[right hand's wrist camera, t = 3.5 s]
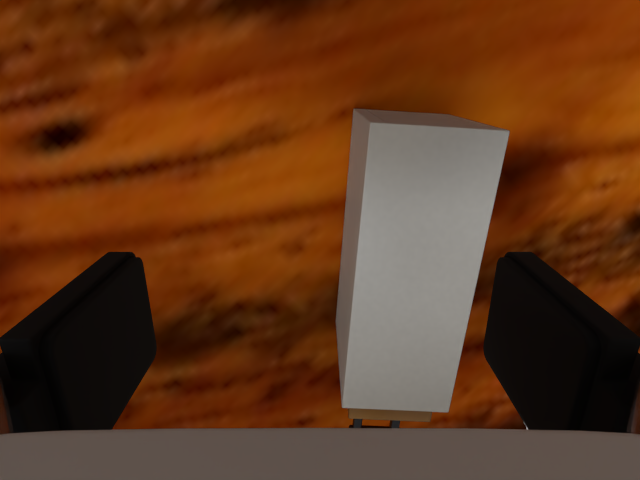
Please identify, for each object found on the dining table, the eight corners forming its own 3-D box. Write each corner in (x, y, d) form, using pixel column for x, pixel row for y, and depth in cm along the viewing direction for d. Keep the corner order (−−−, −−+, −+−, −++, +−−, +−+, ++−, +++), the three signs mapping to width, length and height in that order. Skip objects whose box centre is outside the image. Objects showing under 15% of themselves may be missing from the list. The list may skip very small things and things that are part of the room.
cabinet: (414, 325, 34) (448, 412, 25) (335, 321, 33) (341, 408, 25) (449, 114, 28) (510, 130, 19) (353, 108, 28) (370, 122, 19)
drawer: (397, 404, 35) (417, 486, 28) (336, 402, 35) (341, 483, 28) (437, 158, 28) (478, 185, 21) (359, 153, 28) (374, 179, 21)
